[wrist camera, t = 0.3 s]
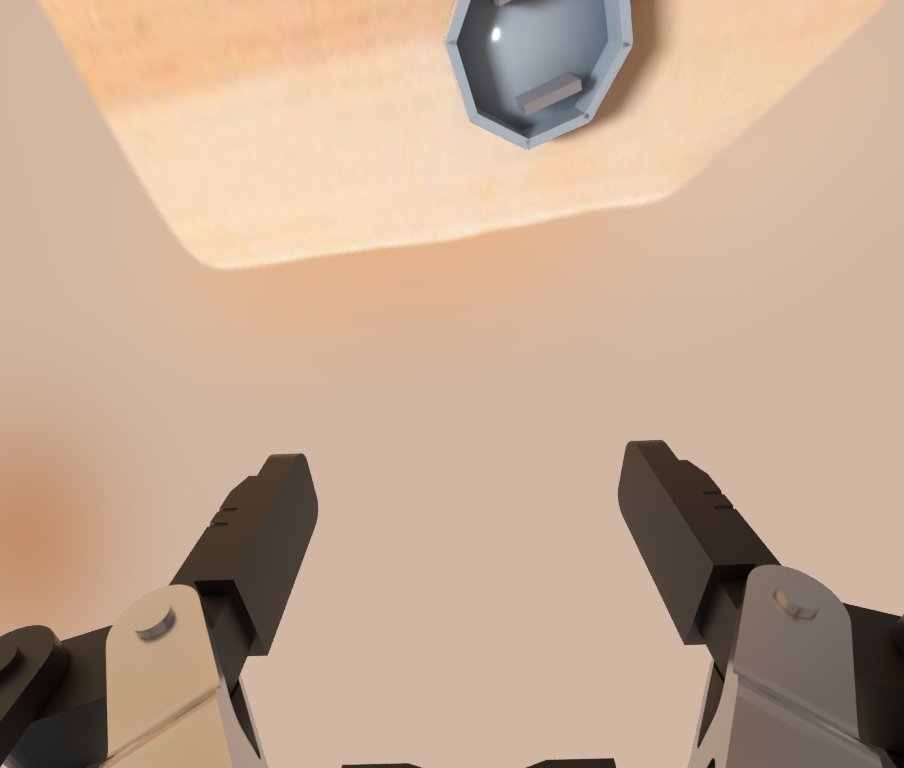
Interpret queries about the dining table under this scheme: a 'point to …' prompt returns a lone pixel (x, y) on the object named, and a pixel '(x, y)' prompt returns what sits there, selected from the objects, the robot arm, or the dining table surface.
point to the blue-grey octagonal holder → (536, 62)
